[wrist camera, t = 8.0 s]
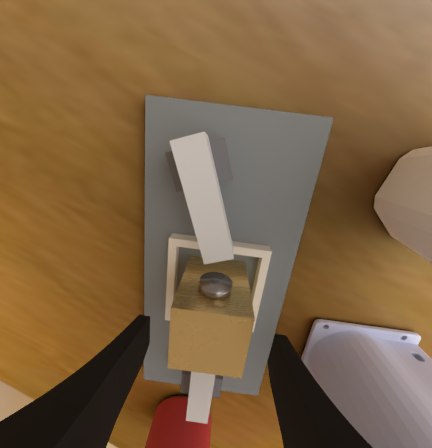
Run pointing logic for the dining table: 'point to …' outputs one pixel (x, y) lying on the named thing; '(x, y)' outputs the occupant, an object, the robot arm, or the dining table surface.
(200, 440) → the beer can
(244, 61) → the dining table surface
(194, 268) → the block
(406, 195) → the cup
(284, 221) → the shaft board
